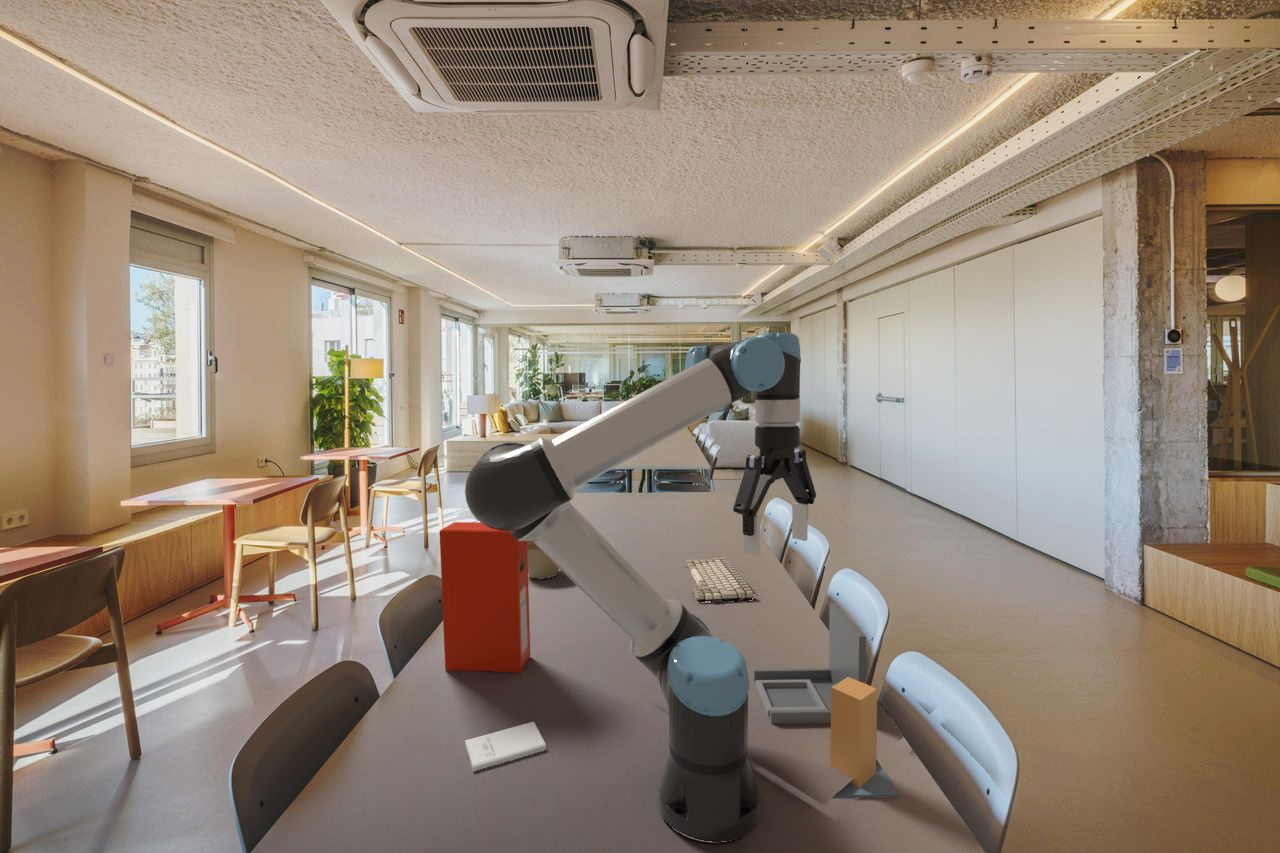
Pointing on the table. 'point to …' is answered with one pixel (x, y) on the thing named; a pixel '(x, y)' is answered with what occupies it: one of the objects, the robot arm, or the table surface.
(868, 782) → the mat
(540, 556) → the planter bowl
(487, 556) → the file binder
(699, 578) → the mechanical keyboard
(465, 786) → the table surface
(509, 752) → the external hard drive
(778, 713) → the case
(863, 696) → the module
